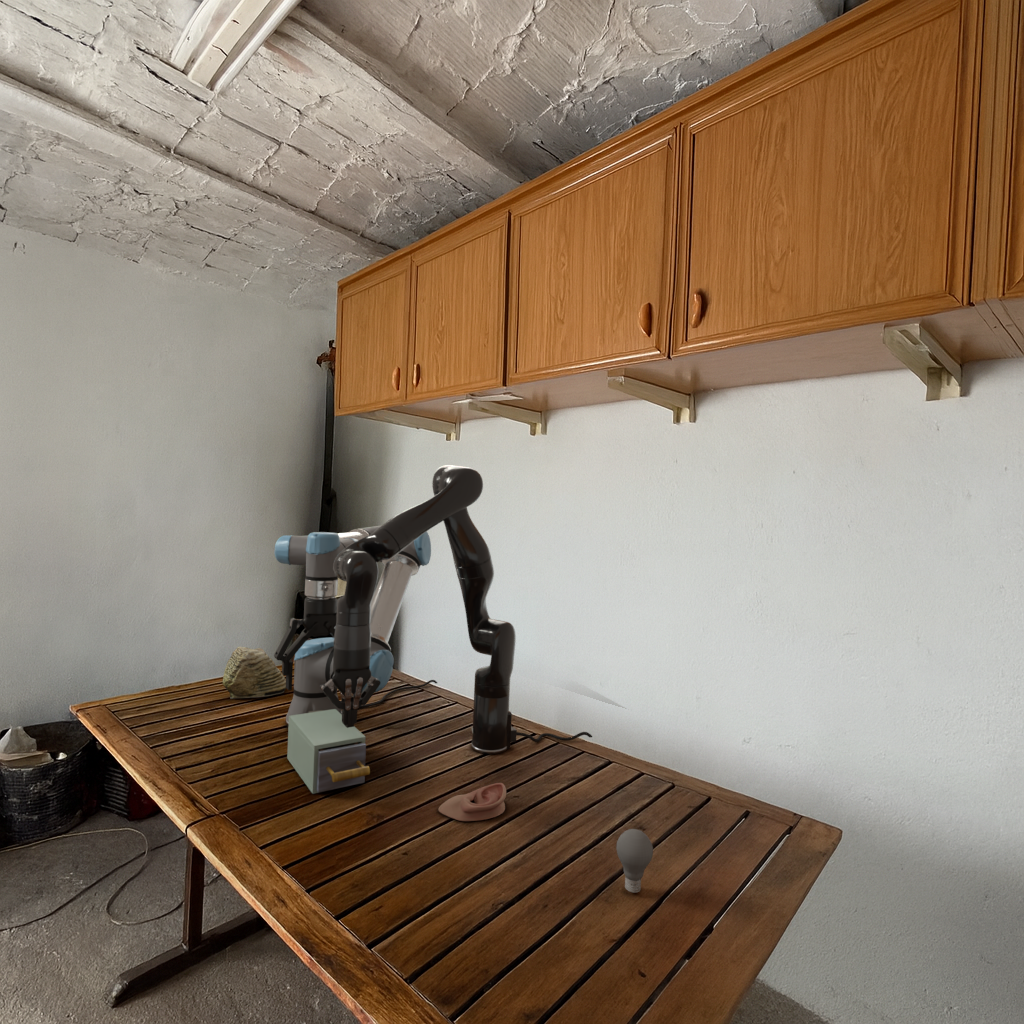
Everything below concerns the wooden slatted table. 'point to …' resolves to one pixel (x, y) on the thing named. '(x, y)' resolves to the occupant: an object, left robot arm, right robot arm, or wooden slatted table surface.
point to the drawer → (341, 766)
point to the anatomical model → (476, 804)
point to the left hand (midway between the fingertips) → (317, 685)
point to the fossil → (252, 674)
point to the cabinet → (316, 741)
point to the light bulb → (634, 857)
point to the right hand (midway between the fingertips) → (349, 726)
